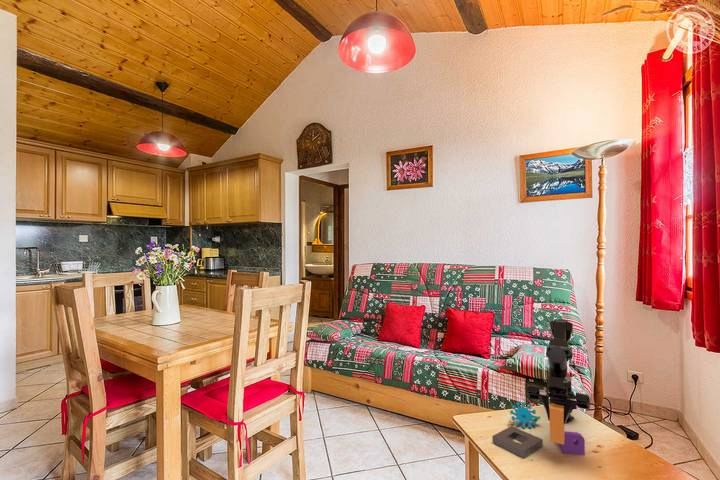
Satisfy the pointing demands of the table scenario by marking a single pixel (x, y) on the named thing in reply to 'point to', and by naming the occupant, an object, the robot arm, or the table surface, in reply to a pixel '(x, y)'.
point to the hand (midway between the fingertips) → (556, 421)
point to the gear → (524, 415)
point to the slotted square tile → (521, 450)
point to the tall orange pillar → (557, 423)
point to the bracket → (573, 443)
